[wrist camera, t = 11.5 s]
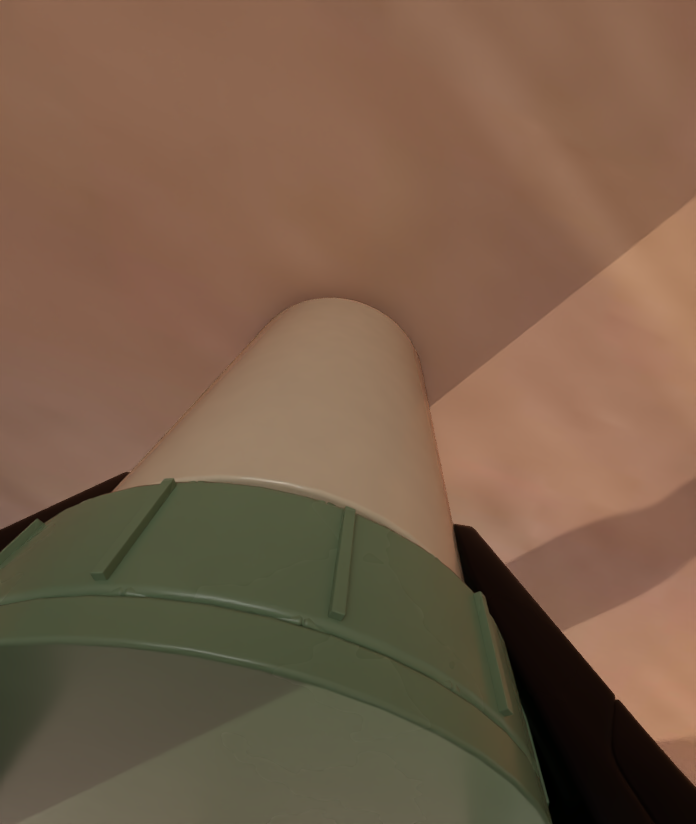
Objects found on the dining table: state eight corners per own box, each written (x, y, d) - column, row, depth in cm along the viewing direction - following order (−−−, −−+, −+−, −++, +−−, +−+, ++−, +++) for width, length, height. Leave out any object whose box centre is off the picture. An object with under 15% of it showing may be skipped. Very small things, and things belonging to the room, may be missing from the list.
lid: (437, 809, 7) (451, 967, 6) (66, 746, 7) (-15, 886, 6) (603, 537, 4) (734, 743, 2) (-72, 428, 4) (-338, 563, 2)
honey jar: (241, 290, 12) (-151, 548, 3) (435, 304, 12) (583, 629, 3) (252, 450, 15) (58, 825, 6) (410, 465, 15) (447, 881, 6)
